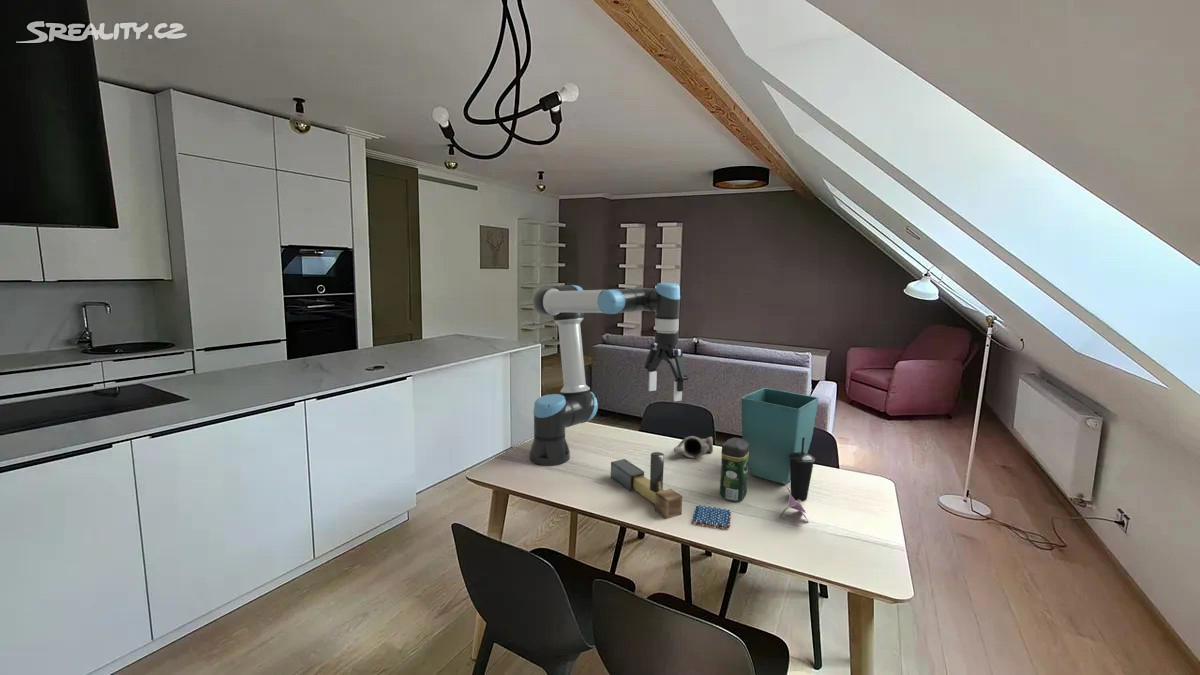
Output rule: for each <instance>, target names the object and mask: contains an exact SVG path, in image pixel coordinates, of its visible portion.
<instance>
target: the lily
mask: <svg viewBox="0 0 1200 675" xmlns="http://www.w3.org/2000/svg"><path fill="white" fill-rule="evenodd" d="M783 485H785V487H786V489H787V490H788V491H786V493H787V494H788V502H787V507H786V508H785V509H783V511H782V513H781V514H780V516H779V518H782V516H783V515H784V513H785V512H786V510H787V509H788V508H789V509H793V510H796V511H798V513H799V512H800V514H801V515H803V517H804V518H805V519H806V521H807V522H809V520H808V518H807V517H806V515H805V514H808V513H807V512H806V510H805V509H804V507H803V506H802V505H801V504H800V503H802V501H801V500H799V501H798V500H795V499H794V498H793V497H792V495H791V489H789V487H788V486H787V484H785V483H784V484H783ZM804 513H805V514H804Z"/></svg>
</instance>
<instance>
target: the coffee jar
mask: <svg viewBox="0 0 1200 675" xmlns="http://www.w3.org/2000/svg"><path fill="white" fill-rule="evenodd" d="M748 456H749V444H748V442H747V441H746V440H744V439H743V438H740V437H732V438H729V439H727V440H725V441H724V442H723V444H722V445H721V465H720V466H721V467H720V468H721V469H720V479H719V482H720V483H719V496H720V497H721V498H722V499H724V500H726V501H729V502H741V501H742V500H744V499H745V497H747V494H748V473H749V472H748V470H749V467H748Z"/></svg>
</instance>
